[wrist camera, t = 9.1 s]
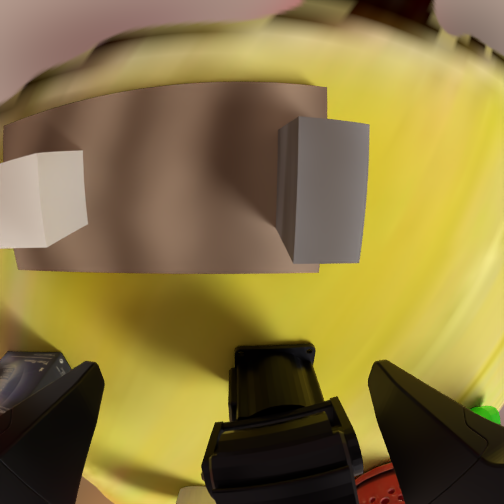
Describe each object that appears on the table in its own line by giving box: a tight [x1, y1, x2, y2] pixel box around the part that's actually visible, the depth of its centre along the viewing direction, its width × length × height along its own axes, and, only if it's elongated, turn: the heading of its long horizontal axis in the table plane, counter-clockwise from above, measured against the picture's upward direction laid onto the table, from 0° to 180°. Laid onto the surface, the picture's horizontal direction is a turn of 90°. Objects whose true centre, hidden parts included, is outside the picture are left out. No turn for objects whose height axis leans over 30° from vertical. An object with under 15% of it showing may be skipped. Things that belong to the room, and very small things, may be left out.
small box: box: [0, 351, 71, 415], centre depth 18 cm, size 11×6×10 cm, turn 101°
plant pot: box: [355, 462, 405, 504], centre depth 28 cm, size 13×13×12 cm
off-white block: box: [0, 150, 88, 248], centre depth 14 cm, size 5×5×5 cm
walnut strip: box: [3, 82, 369, 274], centre depth 14 cm, size 24×12×7 cm, turn 89°
